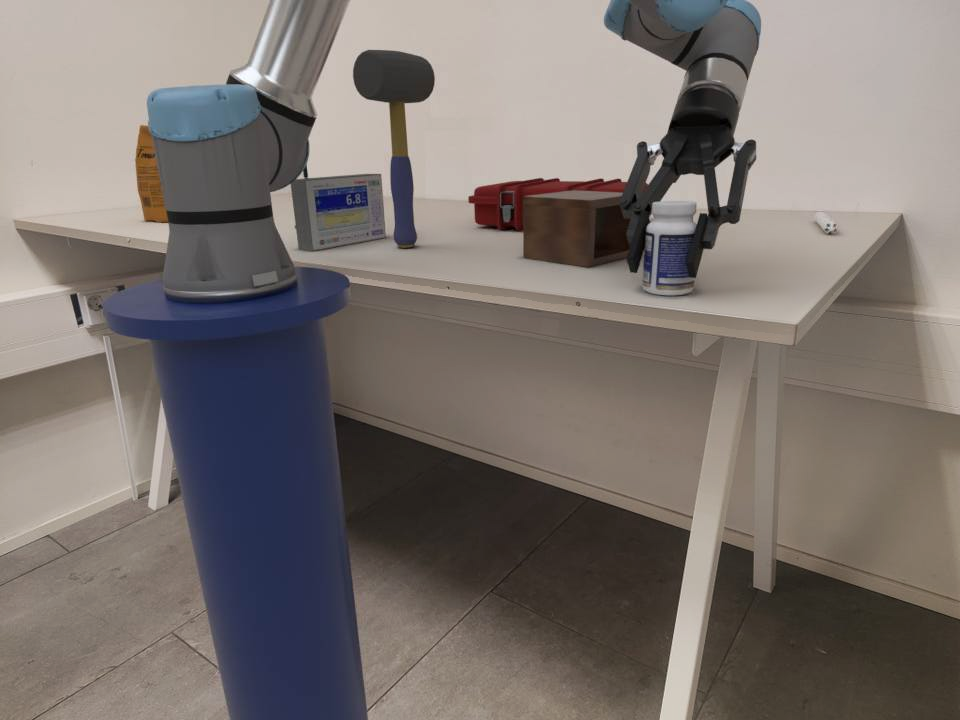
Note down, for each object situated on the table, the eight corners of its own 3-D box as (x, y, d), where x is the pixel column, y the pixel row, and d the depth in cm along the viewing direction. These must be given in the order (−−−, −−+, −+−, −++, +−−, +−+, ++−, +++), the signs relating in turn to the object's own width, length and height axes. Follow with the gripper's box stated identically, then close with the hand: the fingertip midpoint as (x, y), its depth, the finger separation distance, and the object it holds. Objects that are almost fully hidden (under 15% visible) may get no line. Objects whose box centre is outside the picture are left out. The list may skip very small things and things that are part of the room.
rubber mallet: (397, 255, 98) (383, 43, 88) (363, 251, 102) (346, 49, 92) (446, 243, 107) (437, 52, 97) (413, 240, 111) (401, 56, 101)
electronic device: (313, 251, 103) (298, 123, 96) (288, 248, 107) (272, 124, 100) (388, 237, 116) (379, 123, 109) (363, 235, 120) (353, 124, 113)
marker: (837, 236, 105) (840, 222, 104) (824, 235, 106) (826, 221, 105) (825, 222, 121) (827, 210, 120) (813, 222, 122) (815, 210, 121)
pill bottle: (702, 290, 71) (711, 201, 68) (677, 299, 67) (685, 205, 64) (658, 283, 75) (664, 198, 72) (631, 291, 71) (637, 202, 68)
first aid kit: (465, 229, 124) (463, 184, 121) (513, 216, 143) (513, 177, 140) (622, 237, 109) (625, 187, 107) (653, 221, 129) (656, 178, 126)
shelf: (523, 257, 93) (523, 196, 90) (572, 247, 101) (573, 190, 98) (588, 267, 85) (591, 200, 82) (636, 255, 93) (640, 193, 90)
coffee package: (172, 216, 159) (155, 125, 152) (205, 218, 153) (189, 123, 146) (136, 221, 151) (117, 124, 143) (170, 223, 145) (151, 123, 138)
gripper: (791, 130, 73) (754, 295, 66) (636, 134, 82) (587, 279, 75) (794, 78, 67) (752, 253, 60) (626, 89, 76) (571, 242, 69)
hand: (660, 267), depth 67 cm, fingers closed on pill bottle, 6 cm apart
